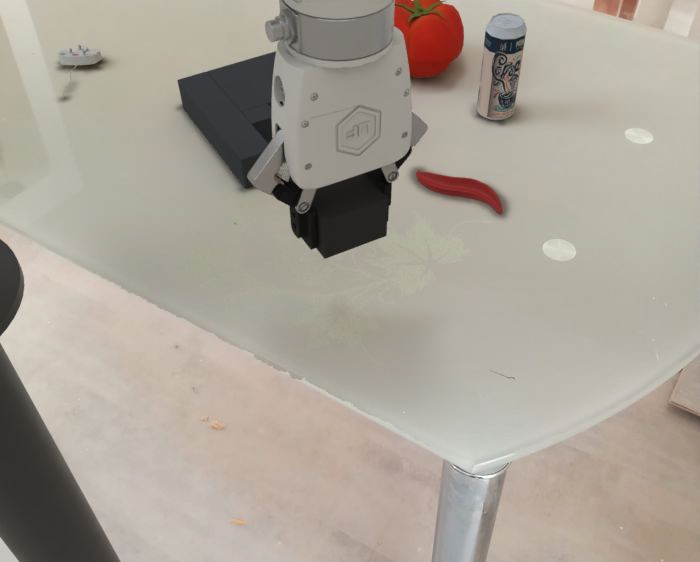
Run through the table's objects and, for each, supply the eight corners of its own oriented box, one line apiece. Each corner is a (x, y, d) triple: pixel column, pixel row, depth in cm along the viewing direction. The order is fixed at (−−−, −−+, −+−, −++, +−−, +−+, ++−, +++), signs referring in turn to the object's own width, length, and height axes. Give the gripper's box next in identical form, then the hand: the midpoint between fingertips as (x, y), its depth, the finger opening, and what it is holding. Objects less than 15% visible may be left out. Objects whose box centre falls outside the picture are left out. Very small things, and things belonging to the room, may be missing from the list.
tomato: (486, 66, 106) (494, 2, 100) (425, 102, 101) (429, 37, 94) (412, 32, 113) (414, -29, 106) (351, 64, 107) (349, 1, 101)
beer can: (494, 127, 96) (506, 34, 87) (468, 111, 99) (477, 19, 90) (521, 114, 98) (536, 21, 89) (495, 98, 101) (507, 7, 92)
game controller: (101, 51, 111) (96, 33, 109) (107, 92, 104) (102, 74, 102) (61, 57, 110) (55, 39, 108) (63, 99, 103) (58, 81, 101)
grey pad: (245, 188, 89) (240, 159, 86) (182, 107, 101) (177, 79, 98) (379, 142, 95) (379, 113, 92) (305, 70, 106) (303, 42, 103)
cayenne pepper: (513, 205, 86) (516, 191, 85) (486, 224, 84) (488, 210, 83) (435, 160, 92) (436, 146, 91) (408, 176, 90) (408, 162, 89)
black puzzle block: (324, 259, 64) (323, 221, 61) (285, 209, 68) (282, 172, 65) (386, 236, 66) (388, 198, 63) (345, 189, 70) (344, 151, 67)
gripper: (244, 79, 48) (268, 288, 61) (475, 14, 53) (450, 219, 67) (199, 27, 52) (231, 233, 65) (416, -28, 57) (404, 173, 71)
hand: (341, 224), depth 66 cm, fingers closed on black puzzle block, 6 cm apart
